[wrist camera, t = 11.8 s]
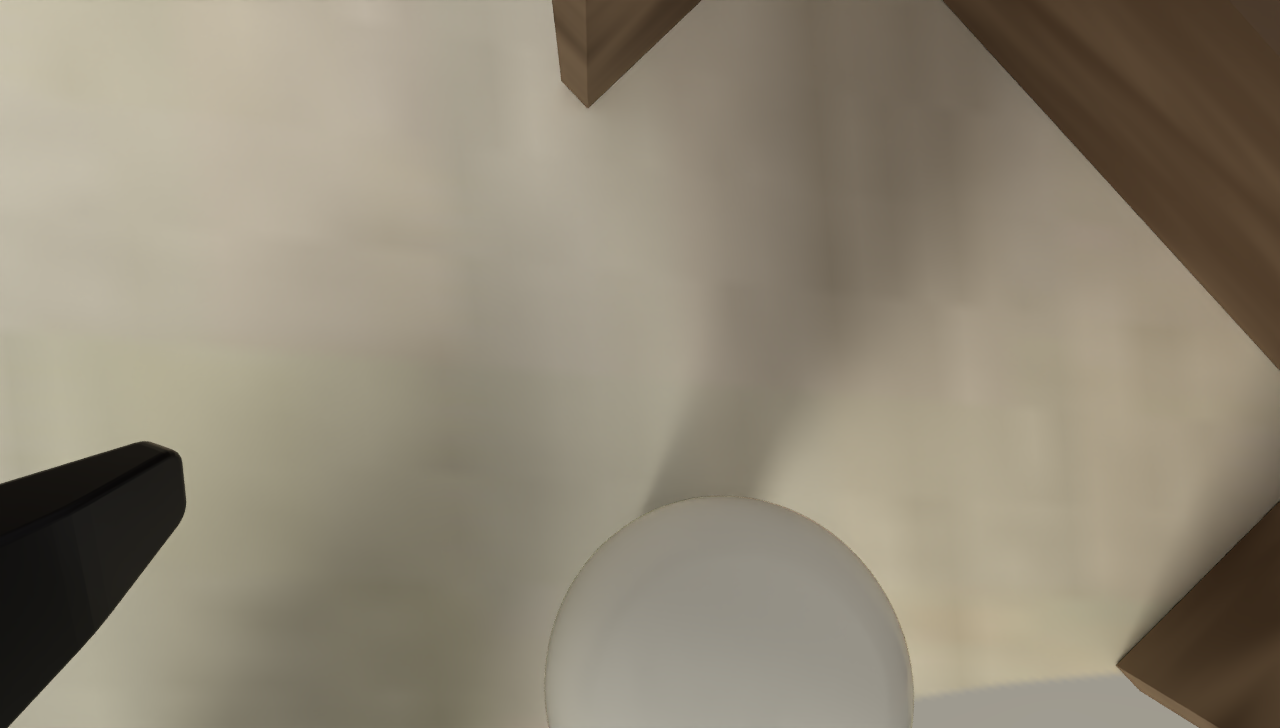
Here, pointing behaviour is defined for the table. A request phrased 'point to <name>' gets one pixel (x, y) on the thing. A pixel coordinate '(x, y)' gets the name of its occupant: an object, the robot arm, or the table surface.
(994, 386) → the table surface
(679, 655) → the lightbulb
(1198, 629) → the open box
